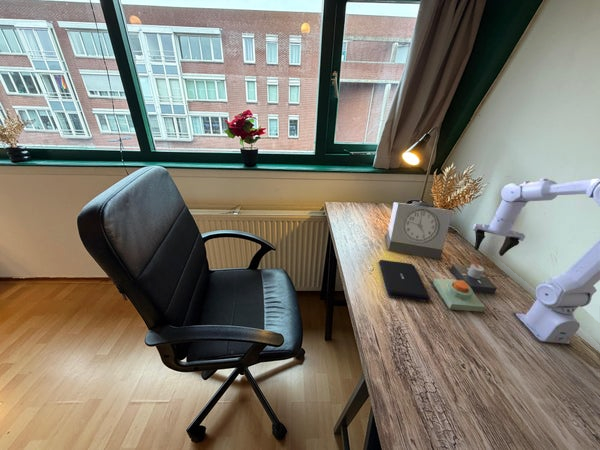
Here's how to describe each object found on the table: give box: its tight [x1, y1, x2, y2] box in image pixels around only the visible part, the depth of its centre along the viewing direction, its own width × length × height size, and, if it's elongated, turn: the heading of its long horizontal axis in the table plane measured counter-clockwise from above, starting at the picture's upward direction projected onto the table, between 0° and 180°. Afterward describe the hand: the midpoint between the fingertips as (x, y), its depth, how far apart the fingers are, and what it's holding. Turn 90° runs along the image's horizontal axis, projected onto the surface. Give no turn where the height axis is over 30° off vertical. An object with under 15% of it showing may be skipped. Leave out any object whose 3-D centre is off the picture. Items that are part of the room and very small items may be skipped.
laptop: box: [378, 259, 431, 302], centre depth 86 cm, size 16×20×2 cm
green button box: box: [432, 277, 486, 313], centre depth 80 cm, size 12×10×4 cm
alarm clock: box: [385, 200, 454, 260], centre depth 104 cm, size 20×16×20 cm
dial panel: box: [450, 264, 498, 294], centre depth 88 cm, size 12×9×3 cm
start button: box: [453, 279, 469, 292], centre depth 79 cm, size 4×4×2 cm
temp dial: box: [467, 263, 485, 279], centre depth 87 cm, size 4×4×4 cm
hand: (488, 251), depth 89 cm, fingers open, 7 cm apart
